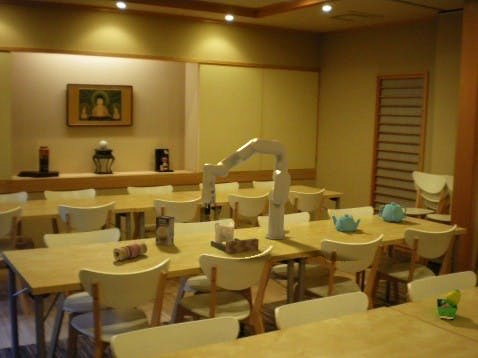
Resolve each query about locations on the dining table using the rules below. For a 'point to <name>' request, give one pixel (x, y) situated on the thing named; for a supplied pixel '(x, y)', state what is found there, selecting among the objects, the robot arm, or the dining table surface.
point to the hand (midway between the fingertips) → (207, 214)
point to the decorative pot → (392, 212)
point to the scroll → (130, 251)
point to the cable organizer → (224, 233)
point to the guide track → (238, 245)
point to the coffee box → (164, 230)
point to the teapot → (345, 223)
